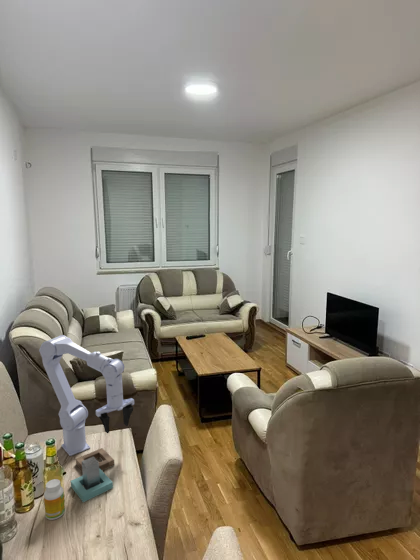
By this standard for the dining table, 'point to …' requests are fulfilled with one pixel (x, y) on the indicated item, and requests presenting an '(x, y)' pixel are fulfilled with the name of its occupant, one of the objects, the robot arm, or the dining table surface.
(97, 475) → the peg
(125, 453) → the dining table surface
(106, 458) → the socket block
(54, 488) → the supplement bottle
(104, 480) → the teal square frame
